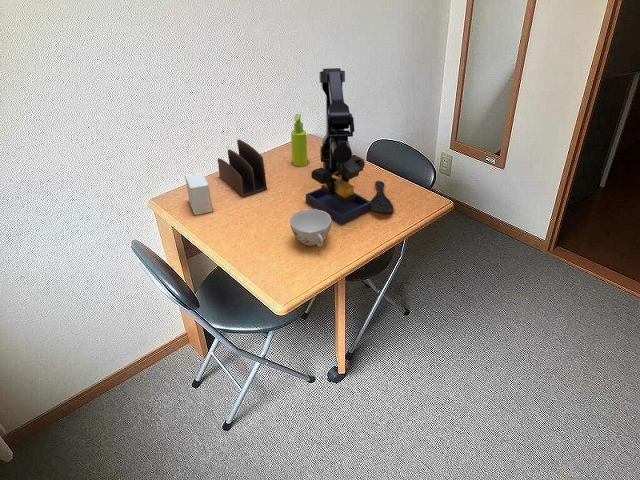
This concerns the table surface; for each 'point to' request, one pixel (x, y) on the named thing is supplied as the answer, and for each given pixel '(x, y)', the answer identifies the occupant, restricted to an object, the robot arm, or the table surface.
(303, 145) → the soap dispenser
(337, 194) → the duster
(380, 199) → the hairbrush
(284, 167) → the table surface
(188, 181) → the cosmetics box
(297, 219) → the teacup
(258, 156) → the letter holder
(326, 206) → the blue tray
